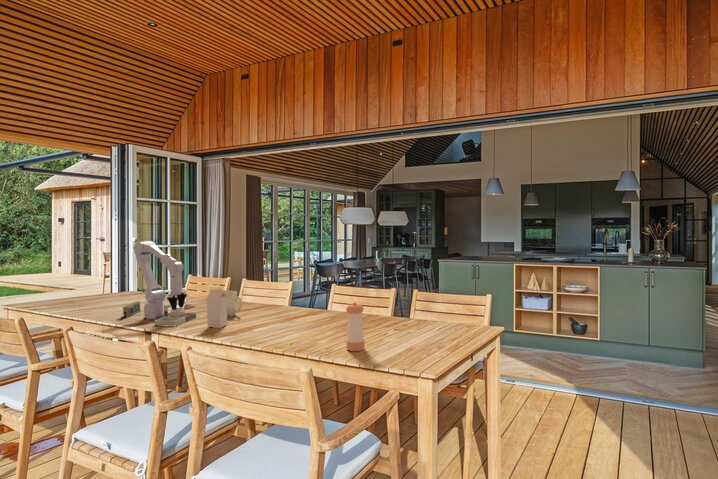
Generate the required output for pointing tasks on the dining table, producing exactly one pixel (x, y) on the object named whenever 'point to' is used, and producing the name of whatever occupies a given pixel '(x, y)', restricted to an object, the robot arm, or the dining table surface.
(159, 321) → the tray
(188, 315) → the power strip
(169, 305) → the clip
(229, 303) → the pitcher
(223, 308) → the milk carton
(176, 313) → the plug
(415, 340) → the dining table surface
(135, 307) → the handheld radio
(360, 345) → the pepper shaker
